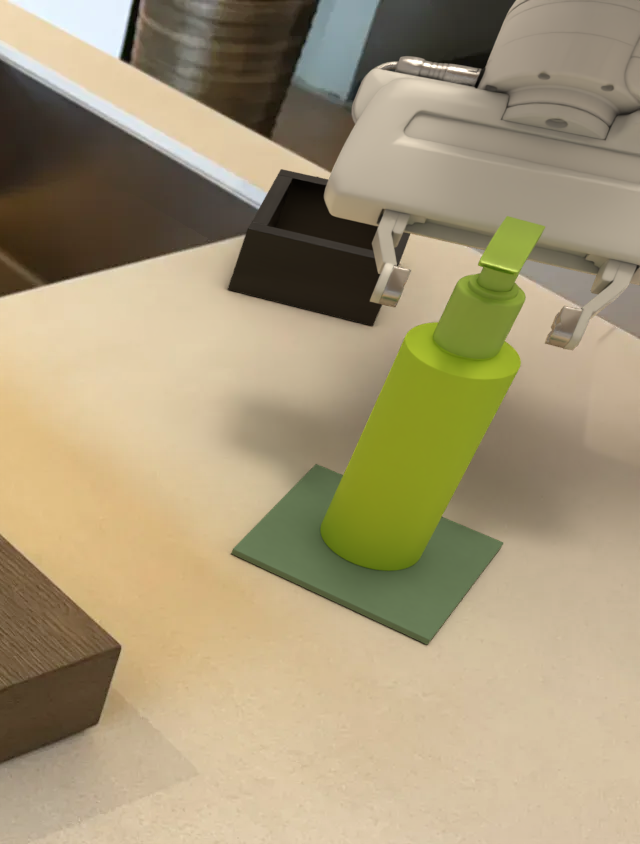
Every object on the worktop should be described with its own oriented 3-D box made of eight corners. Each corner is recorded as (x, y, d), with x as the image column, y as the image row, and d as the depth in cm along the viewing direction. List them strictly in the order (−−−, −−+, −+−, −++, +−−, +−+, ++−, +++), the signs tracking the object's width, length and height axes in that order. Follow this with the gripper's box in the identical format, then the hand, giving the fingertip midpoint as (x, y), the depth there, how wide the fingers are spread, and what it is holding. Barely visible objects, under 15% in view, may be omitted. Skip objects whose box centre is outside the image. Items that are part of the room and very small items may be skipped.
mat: (501, 547, 83) (504, 542, 83) (427, 645, 77) (430, 639, 77) (313, 468, 89) (316, 463, 88) (230, 553, 82) (232, 548, 82)
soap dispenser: (301, 555, 82) (441, 240, 67) (336, 499, 86) (475, 190, 71) (401, 593, 80) (567, 275, 65) (432, 534, 83) (596, 222, 69)
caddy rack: (372, 326, 102) (399, 263, 98) (227, 289, 105) (247, 228, 101) (397, 260, 109) (423, 200, 105) (260, 228, 112) (280, 168, 109)
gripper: (382, 21, 76) (288, 257, 77) (798, 95, 70) (689, 353, 71) (366, 76, 82) (278, 295, 83) (748, 150, 76) (648, 386, 77)
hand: (470, 322), depth 77 cm, fingers open, 8 cm apart
